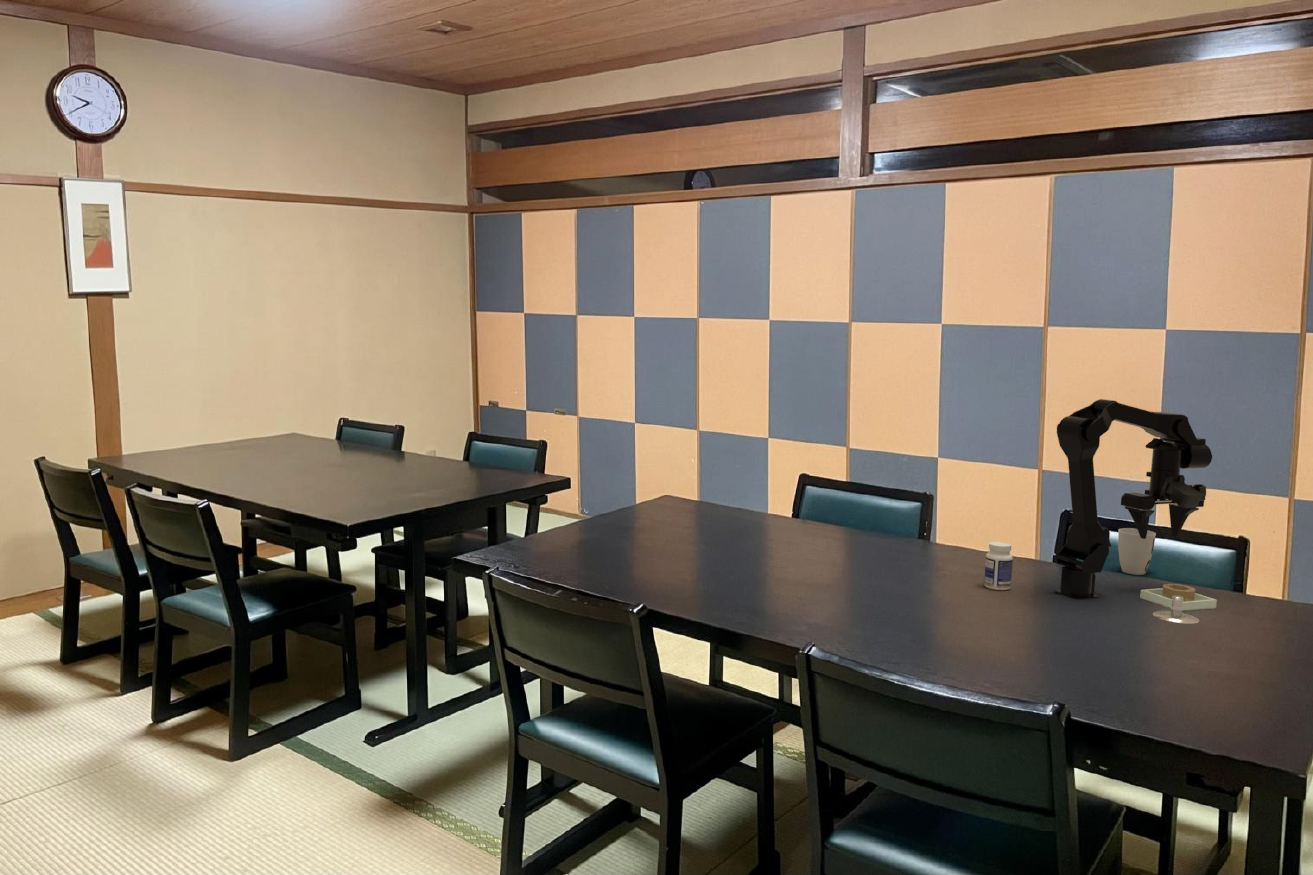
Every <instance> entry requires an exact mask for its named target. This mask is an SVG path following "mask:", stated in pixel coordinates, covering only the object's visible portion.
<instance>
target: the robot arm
mask: <svg viewBox="0 0 1313 875" xmlns="http://www.w3.org/2000/svg"><path fill="white" fill-rule="evenodd" d="M1113 421H1116V422H1119V423H1123V424H1127V425H1129V426H1130V425H1131V426H1134V427H1137V428H1140V429H1142V430H1144V431H1145V433H1148V434H1149V435H1151V436H1153V439H1152V440H1151V441H1150V442H1148V443H1147V444H1145V448H1146V449H1152V458H1151V468H1150V471H1146V472H1145V473H1146V475H1145V477H1149V478H1150V479H1149V489H1145V490H1144V493H1141V492H1124V494H1122V495H1121V497H1120V506H1124V509H1126V510H1128V512H1129V515H1130V517H1131V518H1132V520H1133V523H1134V525H1135V527H1136V529H1137V530H1138V532H1139V535H1140V537H1141V538H1142V539H1146V536H1147V531H1149V530H1148V529H1149V523H1150V517H1151V516H1152V515H1153V514H1154V513H1155V511H1156V510H1155V509H1154V507H1155V505H1168V510H1169V522H1170V531H1171V535H1172V537H1174V538H1178V537H1179V534H1180V532H1181V530H1182V528H1183V527H1184V525H1185V522H1186V521H1187V519H1188V517H1189V516H1190V515H1191V514H1193V513H1195V512H1197V511H1199V510H1200V508H1203V507H1204V506H1205V500H1206V497H1207V487H1206V485H1204V484H1202V483H1199V484H1198V483H1197V484H1196V483H1195V484H1194V485H1192V484H1187V483H1186V482H1185V480H1186V478H1185V475H1183V474H1181V469H1182V470H1183V469H1185V470H1186V469H1204V468H1207V467H1209V466H1210V465H1211V462H1212V460H1213V454H1212V451H1211V450H1212V449H1210V447H1209V446H1208V445H1207V444H1206V443H1207V440H1206V438H1200V437H1196V434H1195V432H1194V431H1193V428H1192V426H1191V424H1190V422H1189V417H1188V416H1186V415H1185V414H1179V413H1174V412H1173V413H1171V412H1163V411H1149V410H1146V409H1142V408H1138V407H1135V406H1132V405H1128V404H1124V403H1119V402H1118V401H1116V400H1111V399H1102V398H1101V399H1097V400H1095V401H1094V402H1092V403H1091V404H1090V405H1088V406H1086V407H1083V408H1081V409H1079V410H1076V411H1074V412H1072V413H1071V414H1069V415H1068V416H1064V417H1063V418H1062V419H1061V420H1060V422H1059V423H1058V424H1057V425H1056V436H1057V439H1058V443H1059V447H1060V448H1061V451H1062V452H1063V453H1064V455H1065V456H1066V458H1067V463H1068V464H1067V465H1068V473H1069V474H1068V476H1069V488H1070V497H1071V498H1070V499H1071V511H1072V513H1071V514H1072V523H1071V525H1070V527H1069V529H1068V530H1067V534H1066V542H1065V543H1064V544H1063V546H1062V547H1061V548H1060V549H1059V551H1058V552H1057V553H1056V554H1055V556H1054V557H1055V563H1056V564H1057V565H1060V566H1062V567H1061V578H1060V586H1059V587H1060V589H1055V590H1054V593H1056V594H1058V595H1063V596H1065V597H1068V598H1071V599H1074V600H1085V599H1086V600H1087V599H1095V598H1099V595H1097V594H1094V593H1095V587H1096V577H1097V576H1096V573H1097V574H1098V573H1102V572H1103V568H1104V566H1105V563H1106V560H1107V558H1108V556H1109V554H1110V548H1111V547H1112V544H1111V541H1110V540H1111V538H1110V536H1111V535H1110V534H1111V532H1110V529H1109V527H1104V526H1101V524H1100V522H1099V520H1098V519H1099V518H1098V508H1097V507H1098V506H1097V495H1096V494H1097V493H1096V491H1097V490H1096V479H1095V470H1094V469H1095V468H1094V457H1095V455H1096V452H1097V451H1098V449H1099V448H1100V441H1101V440H1100V439H1101V437H1102V436H1103V435H1104V434H1106V433H1107V432H1108V431H1109V430H1110V427H1111V425H1112V424H1113ZM1153 509H1154V510H1153Z"/></svg>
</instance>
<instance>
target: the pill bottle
mask: <svg viewBox="0 0 1313 875" xmlns="http://www.w3.org/2000/svg"><path fill="white" fill-rule="evenodd" d="M988 549H989V551H988V552H987V553H986V554H985V564H984V565H985V566H984V578H983V579H984V580H983V582H984V583H983V584H984V587H986V588H987V589H990V590H997V591H1007V590H1008V591H1009V590H1010V589H1011V588H1012V574H1013V562H1014V557H1013V555H1012V554H1011V553H1010V552H1011V551H1012V544H1010V543H1008V542H1003V541H991V542H989V544H988Z"/></svg>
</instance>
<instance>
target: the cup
mask: <svg viewBox="0 0 1313 875" xmlns="http://www.w3.org/2000/svg"><path fill="white" fill-rule="evenodd" d="M1117 533H1118V536H1117V537H1118V538H1117V539H1118V540H1117V542H1118V543H1117V546H1118V547H1117V548H1118V558H1119V564H1120V567H1121V571H1122V572H1123V573H1125V574H1130V575H1135V576H1138V575H1139V576H1140V575H1145V574H1146V572H1147V570H1148V567H1149V566H1150V563H1151V560H1152V556H1153V553H1154V548H1155V541H1156V536H1157V533H1156V532H1155V531H1151V530H1148V531H1147V536H1146V539H1142V538H1141V537H1140V535H1139V532H1138V530H1137V528H1132V527H1126V528H1125V527H1123V528H1119V529H1118V531H1117Z"/></svg>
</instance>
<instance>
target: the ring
mask: <svg viewBox="0 0 1313 875" xmlns="http://www.w3.org/2000/svg"><path fill="white" fill-rule="evenodd" d="M1162 588H1163V591H1162V596H1163V597H1166V598H1169V599H1172V596H1181V597H1183V602H1187V601H1194V599H1195V593H1196V589H1195V588H1194V587H1192V586H1189V585H1185V584H1180V583H1179V584H1178V583H1164V584H1162Z"/></svg>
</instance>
